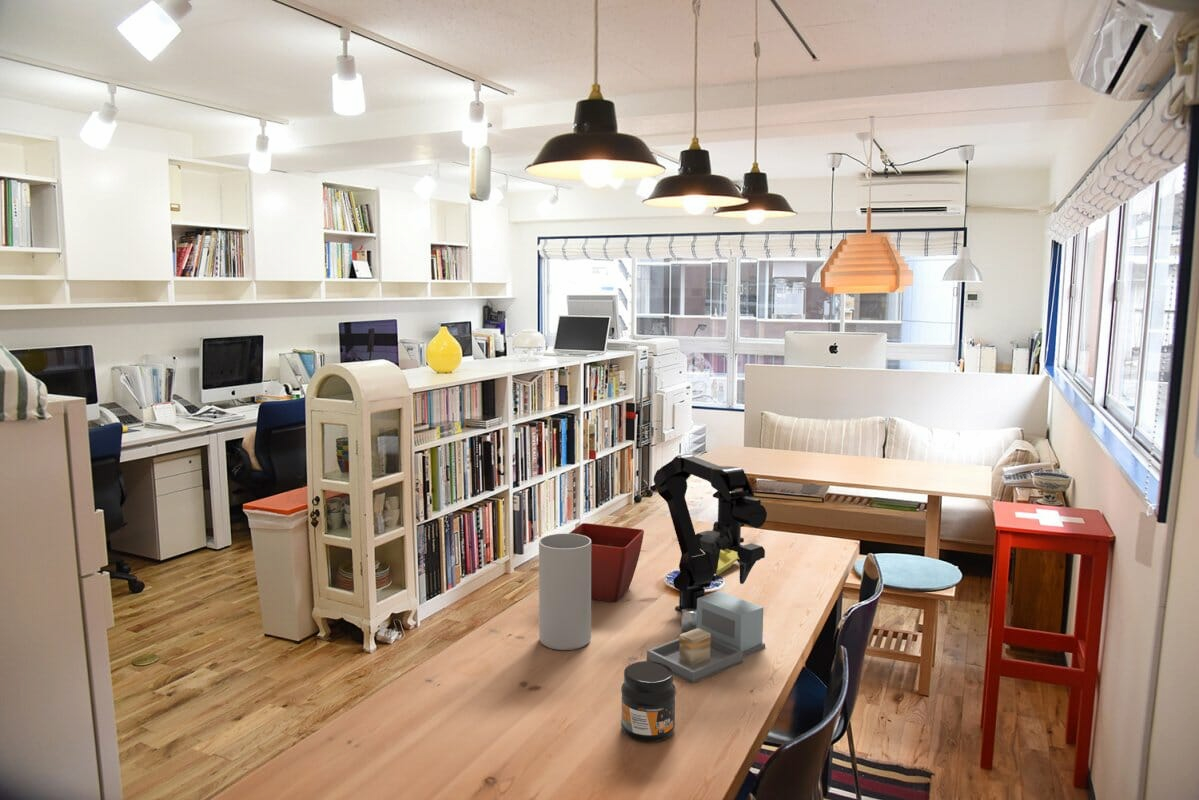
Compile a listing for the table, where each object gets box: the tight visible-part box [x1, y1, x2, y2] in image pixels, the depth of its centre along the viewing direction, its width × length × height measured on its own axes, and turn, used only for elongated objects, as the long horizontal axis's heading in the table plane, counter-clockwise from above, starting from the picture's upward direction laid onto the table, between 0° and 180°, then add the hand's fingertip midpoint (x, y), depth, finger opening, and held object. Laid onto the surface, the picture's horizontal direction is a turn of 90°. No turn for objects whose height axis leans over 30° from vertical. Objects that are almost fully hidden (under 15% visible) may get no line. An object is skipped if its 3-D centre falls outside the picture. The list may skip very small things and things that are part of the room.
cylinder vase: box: [538, 532, 592, 651], centre depth 202 cm, size 12×12×25 cm
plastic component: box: [716, 549, 739, 576], centre depth 258 cm, size 20×7×10 cm
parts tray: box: [646, 637, 744, 684], centre depth 192 cm, size 15×17×2 cm
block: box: [678, 628, 711, 665], centre depth 192 cm, size 4×6×6 cm
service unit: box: [696, 590, 766, 658], centre depth 202 cm, size 15×9×10 cm, turn 40°
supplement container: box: [620, 660, 677, 743], centre depth 162 cm, size 10×10×12 cm
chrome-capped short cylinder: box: [680, 608, 697, 633], centre depth 210 cm, size 4×4×5 cm
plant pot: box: [569, 522, 645, 603], centre depth 235 cm, size 19×19×17 cm
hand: (727, 578), depth 209 cm, fingers open, 9 cm apart
